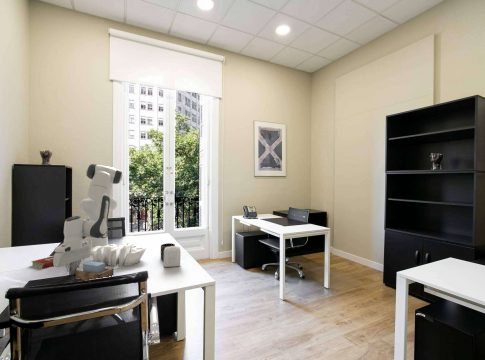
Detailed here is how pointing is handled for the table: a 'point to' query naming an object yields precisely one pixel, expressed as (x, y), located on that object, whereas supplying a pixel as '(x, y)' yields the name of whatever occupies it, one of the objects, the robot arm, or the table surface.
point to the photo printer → (172, 256)
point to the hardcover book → (43, 262)
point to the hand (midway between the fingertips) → (73, 269)
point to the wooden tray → (94, 274)
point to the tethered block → (88, 267)
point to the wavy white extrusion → (117, 254)
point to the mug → (164, 248)
